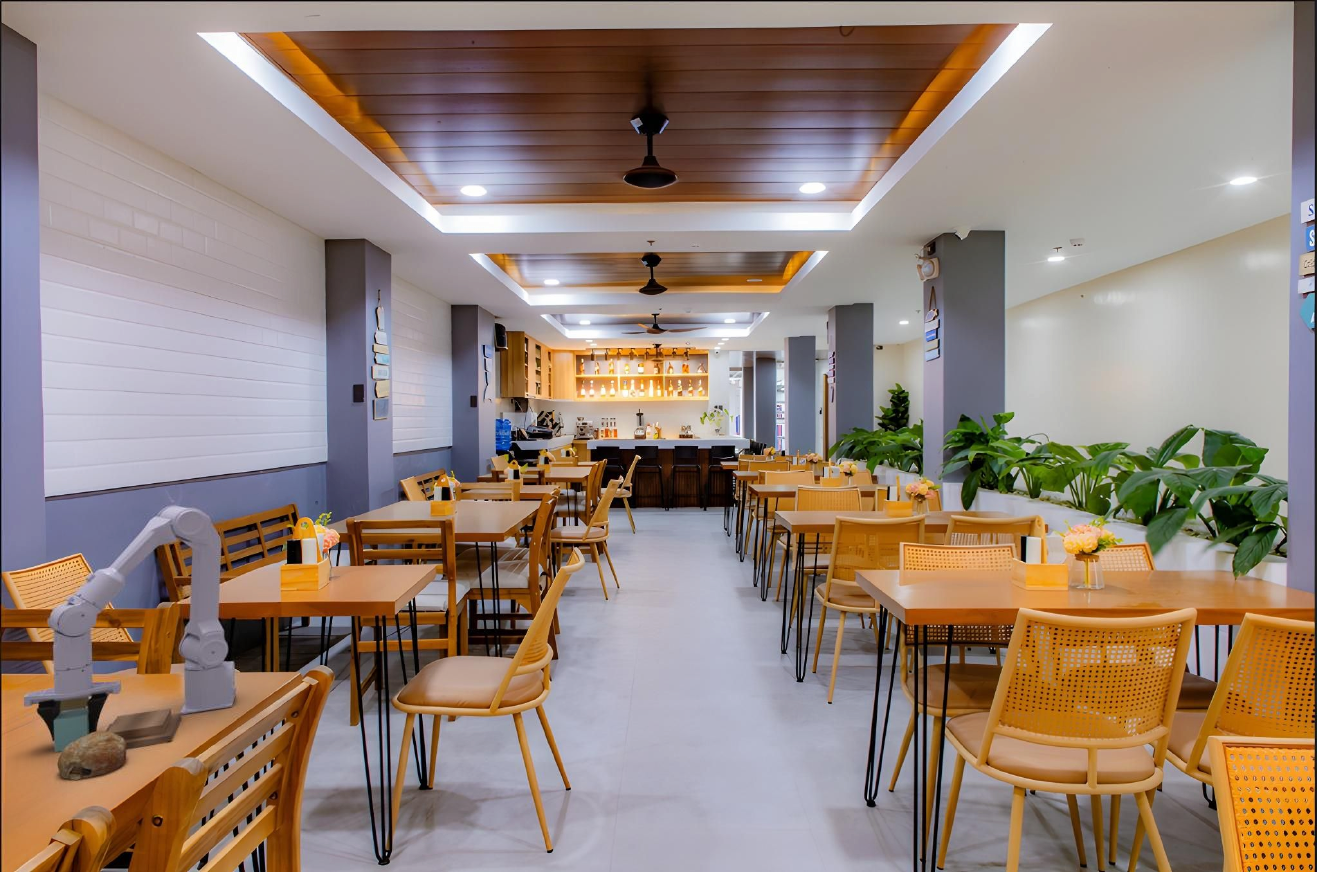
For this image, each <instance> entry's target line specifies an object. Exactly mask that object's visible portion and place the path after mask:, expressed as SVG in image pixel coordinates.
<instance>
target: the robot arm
mask: <svg viewBox="0 0 1317 872" xmlns="http://www.w3.org/2000/svg"><path fill="white" fill-rule="evenodd" d="M178 539H179V540H180V541H182V542H183V543H184V544H186V545H187V546H189V548H191V549H192V556H191V557H192V558H191V576H190V577H191V579H190V580H191V581H190V605H189V606H190V608H189V621H188V622H187V624H186V625H185V627H184V635H183V636H182V639H181V641H180V642H179V646H178V652H179V654H180V656H181V657H182V658H184V659H185V660H184V661H185V663H184V665H183V667H184V668H183V673H184V674H183V677H184V703H183V705H182V707H181V710H180V712H179V713H181V715H185V714H191V713H192V714H193V713H200V712H204V711H211V710H217V709H223V708H231V707H233V705H234V700H235V697H236V694H237V687H236V677H235V676H236V674H235V673H236V672H235V661H225V658H227V656H228V653H229V646H228V642H227V641H226V640H225V630H224V628H223V626H222V624H221V622H220V620H219V615H220V614H219V613H220V612H219V610H220V608H219V607H220V583H221V563H222V562H221V561H222V560H221V557H222V538H221V536H220V534H219V533H218V531H217V529H216V528H215V527H214V524H213V523H212V522H211V517H210V516H209V515H208V514H206V513H205V512H204V511H202V510H200V509H198V508H195V507H183V506H180V505H168V506H166V507H164V508H162V509H161V510H159V512H158V513H157V516H154V517H153V518H150V520H149V521H148V523H147V524H146V525H145V527H144V528H143V529H142V531H140V533H139V534H138V535H137V536H136V537H134V539H133V541H131V543H130V544H129V545H128V546H127V547H126V548H125V550H123V551H122V553H121V554H120V555H119V556H118V557H117V558H116V559H115V561H114V562H112V564H111V565H110V566H109V567H106V568H100V569H97V570H96V571H95V572H94V573H92V572H89V574H87V575H86V577H85V579H86V581H85V582H84V583H83V584H82V585H81V586H80V587H79V588H78V589H77V590H76V591H75V592H74V593H73V594H72V595H68V596H67V597H66V598H65V601H67V602H63V603H62V604H59V605H57V606H56V607H54V608H53V610H52V611H51V613H50V617H49V618H47V625H48V626H49V628H50V629H51V630H53V645H52V648H53V649H52V651H53V653H52V655H53V682H54V683H53V685H54V687H53V688H49V689H43V690H39V691H34V692H27V693H26V694H25V695H24V696H23V707H24V708H25V707H26V708H27V707H31V706H33V705H37V706H38V707H37V708H36V713H37V714H38V715H39V717H40V718H41V719H42V720H43V722H44V723H45V725H46V727H47V728H48V730H49V733H50V736H51V740H52V742H54V720H55V719H56V718H57V716H58V715H59V714H60V704H61V700H69V699H76V698H83V697H89V700H88V702H87V705H88V706H87V707H88V711H89V734H90V733H92V732H96V731H98V723H99V720H100V716H101V713H102V711H103V708H104V706H105V703H106V701H107V699H108V697H109V695H110V694H112V695H118V694H120V693H121V691H122V681H121V680H117V681H99V682H93V681H94V680H93V649H92V648H93V647H92V643H93V642H92V634H91V631H92V630H91V629H93V628H94V627H95V626H96V623H97V616H98V614H101V612H102V611H103V610H104V609H105V608H106V607H107V606H108V605H109V604H110V603H111V602H112V600H113V599H114V598H115V597H116V596H117V595H118V594H119V593H120V592H121V591H122V590H123V589H124V588H125V587H126V576H128V575H129V574H130V573H131V572H132V571H133V570H135V568H136V567H137V566H138V565H140V563H142V561H143V560H145V559H146V558H147V557H148V556H149V555H150V554H151V553H152V552H153V551H154V550H155V549H156V548H158V547H159V546H163V545H166V544H170V543H175V542H177V541H178Z"/></svg>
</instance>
